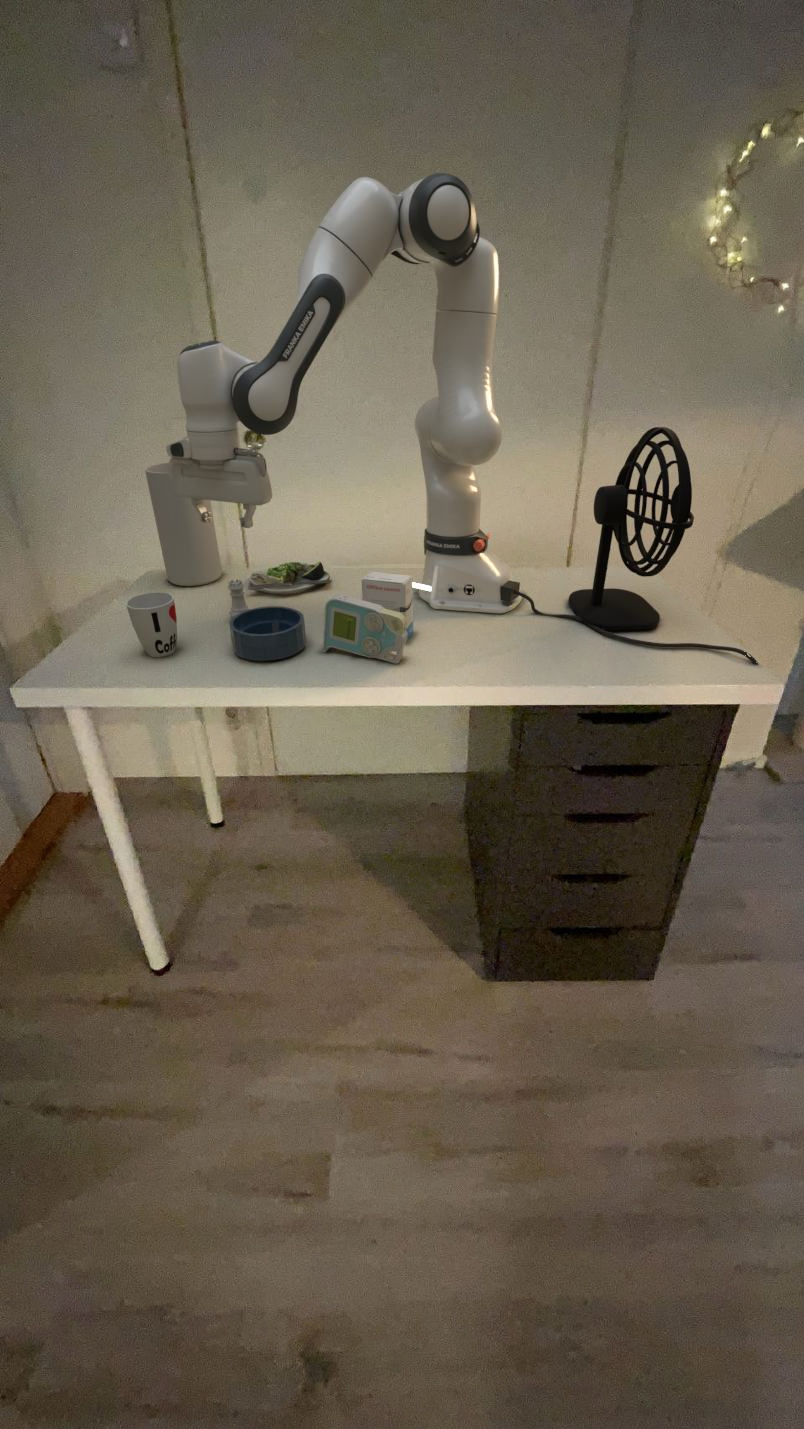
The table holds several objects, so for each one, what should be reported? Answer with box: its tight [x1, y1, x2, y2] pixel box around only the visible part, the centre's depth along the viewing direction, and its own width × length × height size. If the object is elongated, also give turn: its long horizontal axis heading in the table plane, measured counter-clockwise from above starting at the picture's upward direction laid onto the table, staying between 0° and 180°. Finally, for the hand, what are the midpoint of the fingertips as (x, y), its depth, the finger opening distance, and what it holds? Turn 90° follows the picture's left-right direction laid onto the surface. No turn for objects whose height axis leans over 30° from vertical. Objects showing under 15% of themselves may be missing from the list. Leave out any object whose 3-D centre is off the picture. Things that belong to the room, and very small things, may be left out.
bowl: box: [228, 605, 307, 662], centre depth 120 cm, size 13×13×6 cm
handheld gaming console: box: [322, 594, 408, 664], centre depth 116 cm, size 11×3×15 cm
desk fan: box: [568, 426, 695, 631], centre depth 124 cm, size 27×18×35 cm, turn 3°
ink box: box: [361, 571, 414, 641], centre depth 123 cm, size 8×5×12 cm, turn 71°
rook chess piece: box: [227, 579, 250, 621], centre depth 131 cm, size 4×4×8 cm
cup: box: [125, 591, 178, 658], centre depth 118 cm, size 8×8×10 cm
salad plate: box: [247, 561, 332, 595], centre depth 149 cm, size 19×18×5 cm
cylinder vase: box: [144, 462, 223, 587], centre depth 148 cm, size 12×12×25 cm
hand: (226, 524), depth 123 cm, fingers open, 8 cm apart
